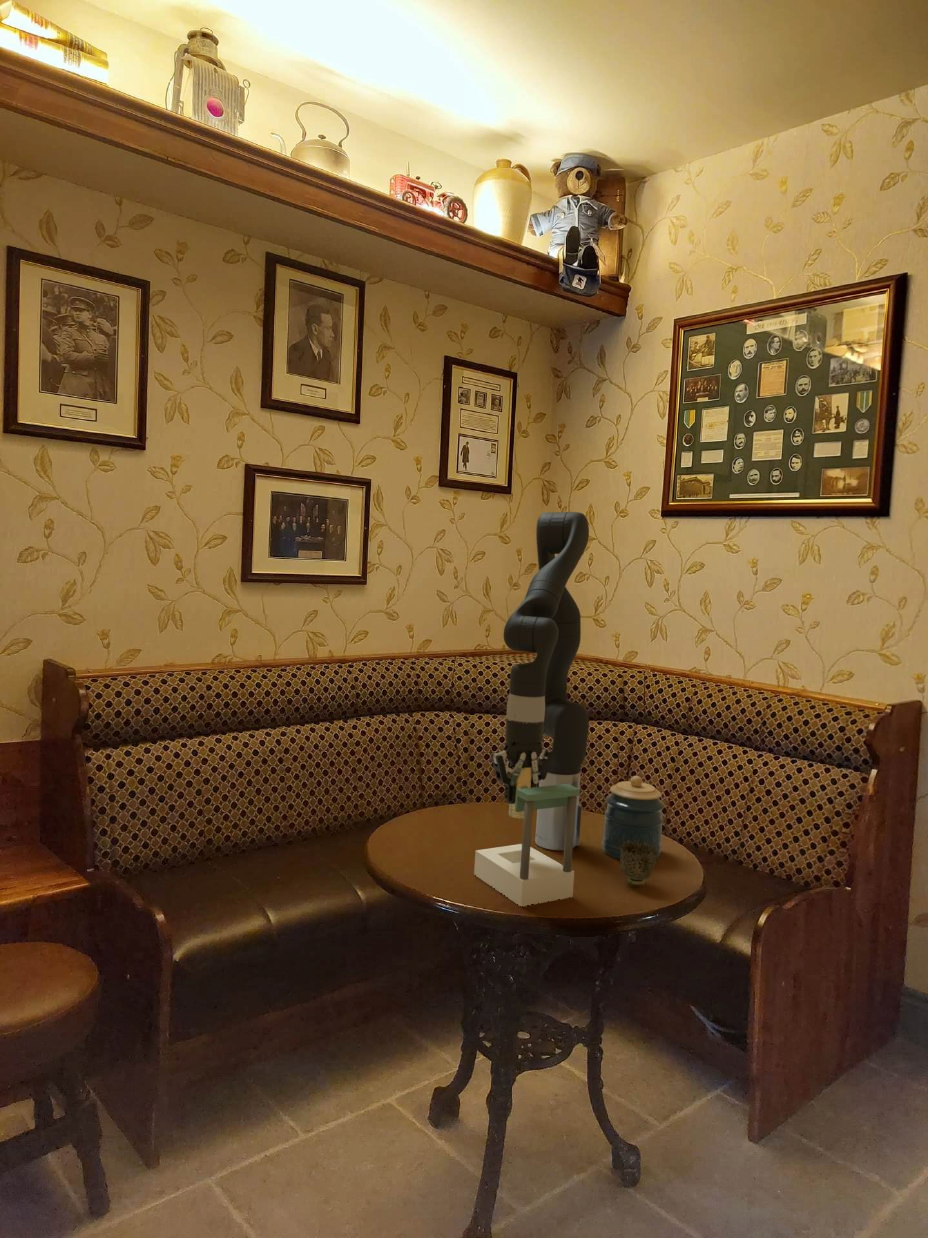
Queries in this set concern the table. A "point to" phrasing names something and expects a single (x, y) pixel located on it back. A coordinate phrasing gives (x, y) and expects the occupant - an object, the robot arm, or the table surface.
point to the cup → (637, 862)
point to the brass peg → (521, 783)
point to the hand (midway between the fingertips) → (519, 801)
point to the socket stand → (532, 853)
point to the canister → (632, 816)
